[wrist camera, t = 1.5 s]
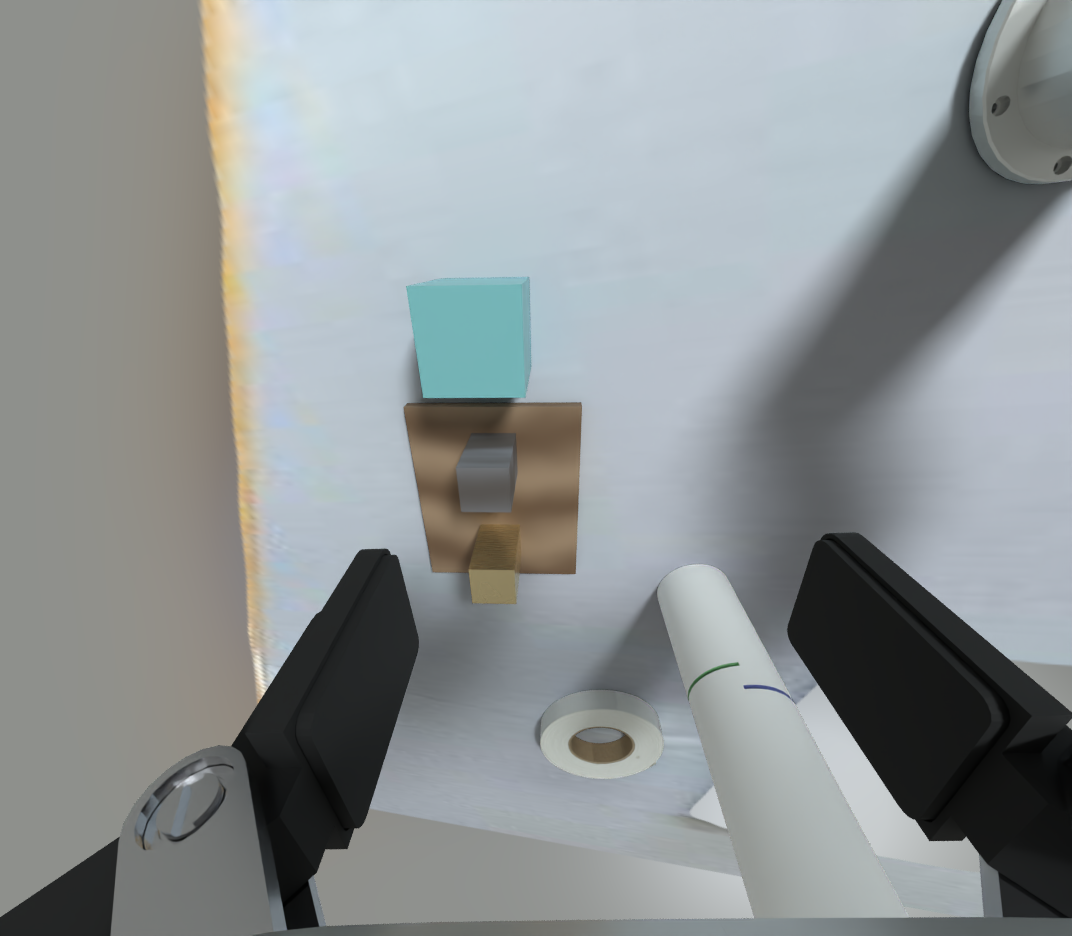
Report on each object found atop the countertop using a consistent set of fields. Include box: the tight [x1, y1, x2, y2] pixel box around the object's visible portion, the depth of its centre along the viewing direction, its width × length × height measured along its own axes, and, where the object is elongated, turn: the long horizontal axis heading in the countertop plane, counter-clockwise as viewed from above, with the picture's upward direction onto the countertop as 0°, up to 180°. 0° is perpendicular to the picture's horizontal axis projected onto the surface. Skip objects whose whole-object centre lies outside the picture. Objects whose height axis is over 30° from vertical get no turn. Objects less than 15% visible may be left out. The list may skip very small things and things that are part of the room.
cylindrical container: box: [657, 564, 910, 918], centre depth 30 cm, size 7×7×25 cm
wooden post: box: [468, 524, 521, 604], centre depth 35 cm, size 4×4×6 cm
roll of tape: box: [540, 690, 664, 779], centre depth 52 cm, size 16×15×3 cm
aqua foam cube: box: [406, 277, 531, 398], centre depth 26 cm, size 6×6×8 cm
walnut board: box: [404, 403, 582, 574], centre depth 33 cm, size 17×14×7 cm
